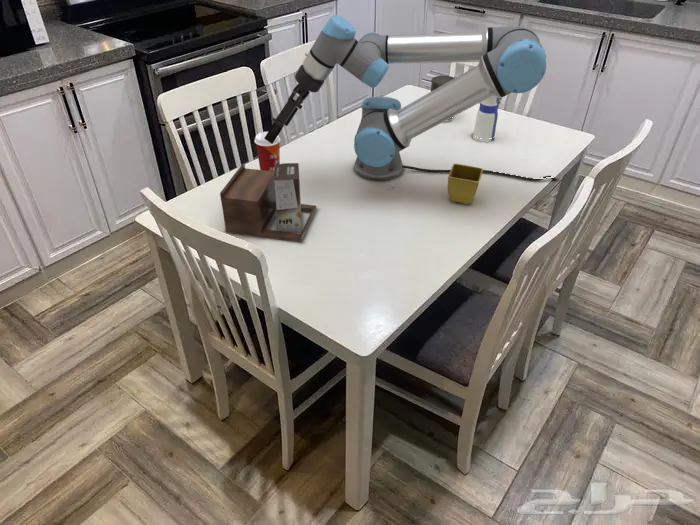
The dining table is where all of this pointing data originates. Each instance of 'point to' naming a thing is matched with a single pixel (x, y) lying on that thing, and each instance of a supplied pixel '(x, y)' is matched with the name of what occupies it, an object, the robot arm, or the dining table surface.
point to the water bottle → (486, 119)
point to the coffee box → (288, 197)
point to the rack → (255, 205)
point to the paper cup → (267, 152)
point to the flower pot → (463, 183)
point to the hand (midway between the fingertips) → (276, 131)
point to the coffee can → (440, 84)
